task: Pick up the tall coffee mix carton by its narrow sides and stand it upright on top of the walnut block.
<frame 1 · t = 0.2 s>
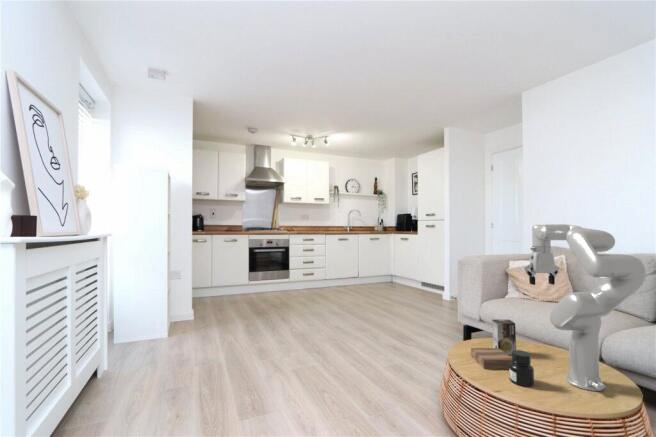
hand: (542, 284, 156), 36 cm above the table, tool pointing down, fingers open, 9 cm apart
coffee box: (504, 352, 163), on the table
walnut block: (492, 362, 151), on the table
ink bottle: (521, 382, 132), on the table
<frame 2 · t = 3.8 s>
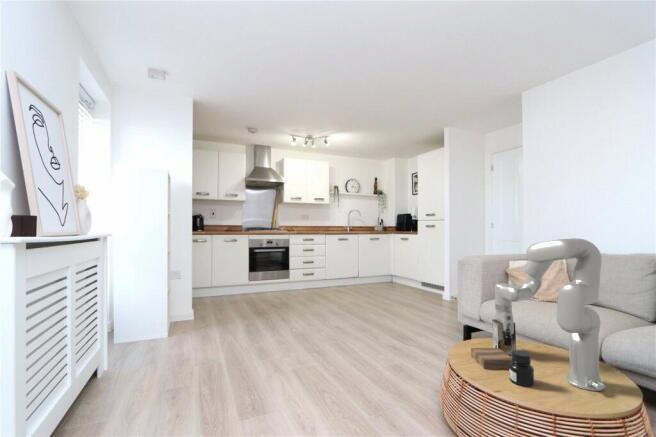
hand: (504, 342, 163), 5 cm above the table, tool pointing down, fingers closed on coffee box, 6 cm apart
coffee box: (504, 352, 163), on the table, touching gripper
everything else where it was.
when the fingers open (11 cm above the table, at t = 10.7 s): coffee box drops 2 cm, resting on walnut block.
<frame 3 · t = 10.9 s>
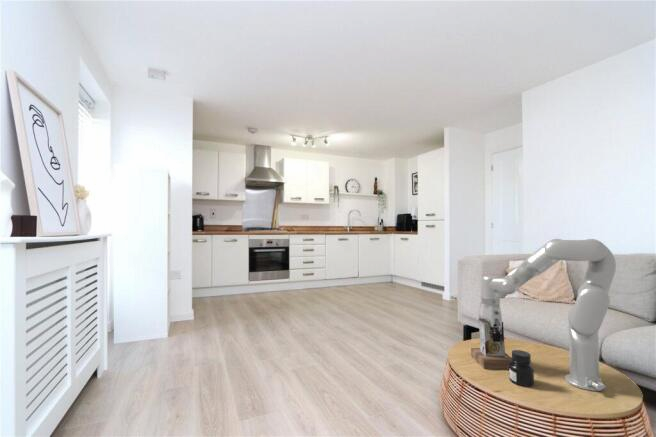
hand: (491, 337, 152), 12 cm above the table, tool pointing down, fingers open, 8 cm apart
coffee box: (492, 354, 151), point 4 cm above the table, touching walnut block
everything else where it was.
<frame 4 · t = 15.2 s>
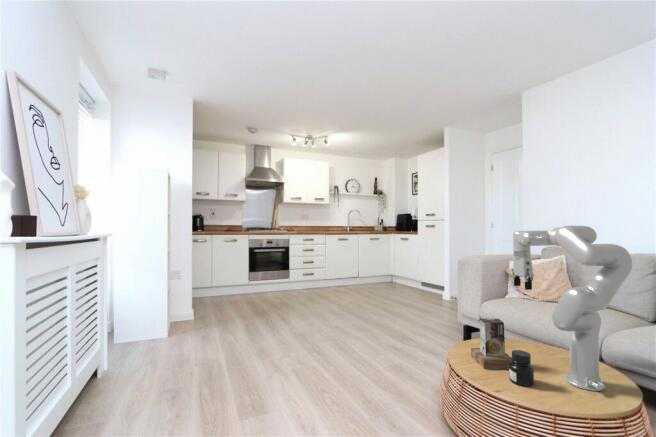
hand: (522, 287, 163), 33 cm above the table, tool pointing down, fingers open, 9 cm apart
nothing on the table moved.
at the end: coffee box 0.1 cm off-centre on the walnut block, point 3.8 cm above the walnut block's base; coffee box tilted 0°; the gripper is holding nothing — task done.
